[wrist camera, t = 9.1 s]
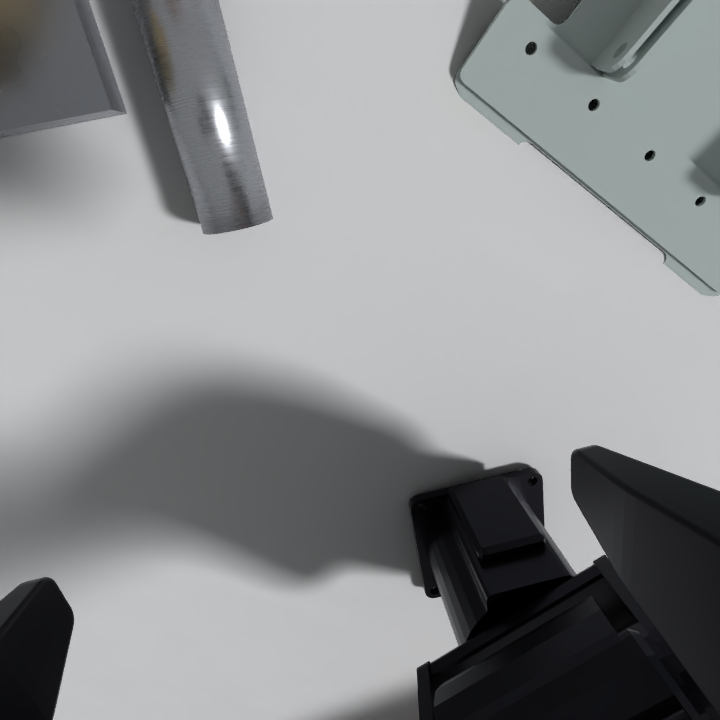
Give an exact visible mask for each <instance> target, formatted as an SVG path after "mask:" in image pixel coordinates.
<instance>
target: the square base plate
mask: <svg viewBox="0 0 720 720" xmlns="http://www.w3.org/2000/svg"><path fill="white" fill-rule="evenodd" d="M121 114H127V113H126V110H125V107H124V104H123V101H122V98H121V95H120V92H119V89H118V86H117V83H116V80H115V77H114V74H113V71H112V68H111V65H110V62H109V60H108V57H107V54H106V51H105V48H104V45H103V42H102V39H101V36H100V33H99V30H98V27H97V24H96V21H95V18H94V15H93V12H92V9H91V6H90V3H89V1H88V0H0V138H3V137H8V136H13V135H18V134H23V133H28V132H34V131H39V130H44V129H49V128H54V127H59V126H65V125H70V124H75V123H80V122H85V121H90V120H96V119H101V118H106V117H111V116H116V115H121Z"/></svg>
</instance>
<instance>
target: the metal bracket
mask: <svg viewBox="0 0 720 720" xmlns="http://www.w3.org/2000/svg"><path fill="white" fill-rule="evenodd" d="M529 42H534V43H535V45H536V49H535V51H534V52H533V53H532V54H530V55H527V54H526V52H525V48H526V46H527V44H528V43H529ZM455 84H456V87H457V90H458V92H459V95H460V97H461V98H462V99H463V100H465V101H466V102H467V103H468V104H469V105H471V106H472V107H473V108H474V109H476V110H477V111H478V112H479V113H480V114H482V115H483V116H484V117H485V118H486V119H488V120H489V121H490V122H491V123H493V124H494V125H495V126H496V127H497V128H499V129H500V130H501V131H502V132H504V133H505V134H506V135H507V136H508V137H510V138H511V139H512V140H513V141H515V142H516V143H517V144H518V145H519V144H520V143H521V142H526V141H527V142H529V143H531V144H532V145H534V146H535V147H536V148H537V149H539V150H540V151H541V152H542V153H543V154H545V155H546V156H547V157H548V158H550V159H551V160H552V161H553V162H554V163H556V164H557V165H558V166H559V167H561V168H562V169H563V170H564V171H565V172H567V173H568V174H569V175H570V176H572V177H573V178H574V179H575V180H576V181H578V182H579V183H580V184H581V185H583V186H584V187H585V188H586V189H587V190H589V191H590V192H591V193H592V194H594V195H595V196H596V197H597V198H598V199H600V200H601V201H602V202H603V203H605V204H606V205H607V206H608V207H609V208H611V209H612V210H613V211H614V212H616V213H617V214H618V215H619V216H620V217H622V218H623V219H624V220H625V221H627V222H628V223H629V224H630V225H631V226H633V227H634V228H635V229H636V230H638V231H639V232H640V233H641V234H642V235H644V236H645V237H646V238H647V239H648V240H650V241H651V242H652V243H653V244H655V245H656V246H657V247H658V248H659V249H661V250H662V251H663V252H664V253H665V255H666V259H665V261H664V263H663V264H665V265H666V266H667V267H668V268H669V269H671V270H672V271H673V272H675V273H676V274H677V275H678V276H679V277H680V278H682V279H683V280H684V281H685V282H687V283H688V284H689V285H690V286H691V287H693V288H694V289H695V290H696V291H698V292H699V293H700V294H701V295H709V296H718V295H720V0H581V2H580V3H579V4H578V6H577V7H576V8H575V10H574V11H573V12H572V14H571V15H570V16H569V18H568V19H567V20H566V21H565V22H563V23H562V24H558V25H556V24H554V23H552V22H551V21H550V20H549V19H548V18H547V17H546V16H545V15H544V14H543V13H542V12H541V11H540V10H539V9H538V8H537V7H535V6H534V5H533V4H532V3H531V2H530V1H529V0H506V2H505V3H504V5H503V6H502V7H501V9H500V10H499V12H498V13H497V15H496V16H495V18H494V19H493V21H492V22H491V24H490V25H489V27H488V28H487V30H486V31H485V32H484V34H483V35H482V37H481V38H480V40H479V41H478V43H477V44H476V46H475V47H474V49H473V50H472V52H471V53H470V55H469V56H468V57H467V59H466V60H465V62H464V63H463V65H462V66H461V68H460V69H459V71H458V72H457V75H456V77H455ZM593 99H597V101H598V105H597V107H596V108H595V109H593V110H589V108H588V104H589V103H590V101H591V100H593ZM650 150H653V156H652V157H651V158H650V159H648V160H645V158H644V157H645V154H646V153H647V152H648V151H650ZM702 196H703V201H702V202H701V203H700V204H697V205H695V201H696V200H697V198H699V197H702Z"/></svg>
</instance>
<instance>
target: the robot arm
mask: <svg viewBox="0 0 720 720" xmlns="http://www.w3.org/2000/svg"><path fill="white" fill-rule="evenodd" d="M532 477H533V478H532ZM530 478H532V480H529V479H530ZM528 480H529V481H528ZM571 490H572V494H573V497H574V499H575V501H576V503H577V505H578V507H579V508H580V510H581V512H582V514H583V515H584V517H585V519H586V520H587V522H588V524H589V526H590V527H591V529H592V531H593V533H594V534H595V536H596V538H597V540H598V541H599V543H600V545H601V546H602V548H603V550H604V552H605V553H606V555H607V557H608V558H607V557H606V555H603V556H601V557H600V558H598V559H596V560H595V561H593V563H594V564H593V565H592V566H590V567H588V568H587V569H585V570H584V571H582V572H580V573H579V574H577V575H576V573H575V572H574V570H573V569H572V567H571V566H570V564H569V563H568V561H567V560H566V559H565V557H564V556H563V554H562V553H561V551H560V550H559V548H558V547H557V545H556V544H555V543H554V541H553V540H552V538H551V537H550V535H549V534H548V532H547V531H546V529H545V528H544V505H543V479H542V476H541V475H540V473H539V472H538V471H537V470H536V469H534V468H527V469H523V470H519V471H514V472H510V473H506V474H502V475H498V476H494V477H490V478H485V479H481V480H477V481H473V482H469V483H465V484H461V485H456V486H452V487H448V488H444V489H440V490H436V491H432V492H428V493H423V494H419V495H416V496H414V497H413V498H411V500H410V501H409V509H410V515H411V520H412V526H413V531H414V537H415V542H416V548H417V554H418V559H419V565H420V570H421V576H422V581H423V587H424V590H425V593H426V595H427V596H428V597H429V598H437V597H442V600H443V603H444V606H445V608H446V611H447V614H448V617H449V620H450V623H451V626H452V628H453V631H454V634H455V637H456V640H457V643H458V647H456V648H455V649H453V650H451V651H450V652H448V653H446V654H445V655H443V656H441V657H440V658H438V659H436V660H435V661H433V662H431V663H430V662H429V661H428V662H426V663H425V664H423V665H421V666H420V667H418V668H417V681H418V703H419V719H420V720H720V491H718V490H715V489H713V488H710V487H707V486H705V485H702V484H699V483H697V482H694V481H691V480H689V479H686V478H683V477H681V476H678V475H675V474H673V473H670V472H667V471H665V470H662V469H659V468H657V467H654V466H651V465H649V464H646V463H643V462H641V461H638V460H635V459H633V458H630V457H627V456H625V455H622V454H619V453H617V452H614V451H611V450H609V449H606V448H603V447H601V446H597V445H592V446H588V447H583V448H579V449H576V450H574V451H573V452H572V455H571ZM420 504H424V505H423V506H421V507H417V506H418V505H420ZM434 587H435V588H434ZM73 625H74V615H73V611H72V609H71V607H70V605H69V604H68V602H67V600H66V599H65V597H64V595H63V594H62V592H61V590H60V589H59V587H58V585H57V584H56V582H55V581H54V580H53V579H51V578H49V577H43V578H39V579H35V580H31V581H27V582H24V583H22V584H20V585H19V586H17V587H16V588H15V589H14V590H13V591H11V592H10V593H9V594H8V595H7V596H5V597H4V598H3V599H2V600H1V601H0V720H53V716H54V712H55V708H56V704H57V699H58V695H59V690H60V685H61V681H62V676H63V672H64V667H65V662H66V658H67V653H68V649H69V644H70V640H71V635H72V630H73Z"/></svg>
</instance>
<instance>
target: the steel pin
mask: <svg viewBox="0 0 720 720" xmlns="http://www.w3.org/2000/svg"><path fill="white" fill-rule="evenodd" d="M131 2H132V5H133V8H134V11H135V15H136V18H137V21H138V24H139V27H140V31H141V34H142V37H143V40H144V44H145V47H146V50H147V53H148V56H149V60H150V63H151V66H152V69H153V73H154V76H155V79H156V82H157V85H158V89H159V92H160V95H161V98H162V102H163V105H164V108H165V111H166V115H167V118H168V121H169V124H170V127H171V131H172V134H173V137H174V140H175V144H176V147H177V150H178V153H179V156H180V160H181V163H182V166H183V169H184V173H185V176H186V179H187V182H188V185H189V189H190V192H191V195H192V198H193V202H194V205H195V208H196V211H197V215H198V218H199V221H200V224H201V227H202V231H203V234H218V233H224V232H230V231H235V230H240V229H244V228H248V227H252V226H255V225H259V224H262V223H265V222H268V221H270V220H272V219H273V216H272V212H271V208H270V204H269V200H268V196H267V192H266V188H265V184H264V180H263V176H262V172H261V168H260V164H259V160H258V156H257V152H256V148H255V144H254V140H253V136H252V132H251V128H250V124H249V120H248V116H247V112H246V108H245V104H244V100H243V96H242V92H241V88H240V84H239V80H238V76H237V72H236V68H235V64H234V60H233V56H232V52H231V48H230V44H229V40H228V36H227V32H226V28H225V24H224V20H223V16H222V12H221V8H220V4H219V0H131Z"/></svg>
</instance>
